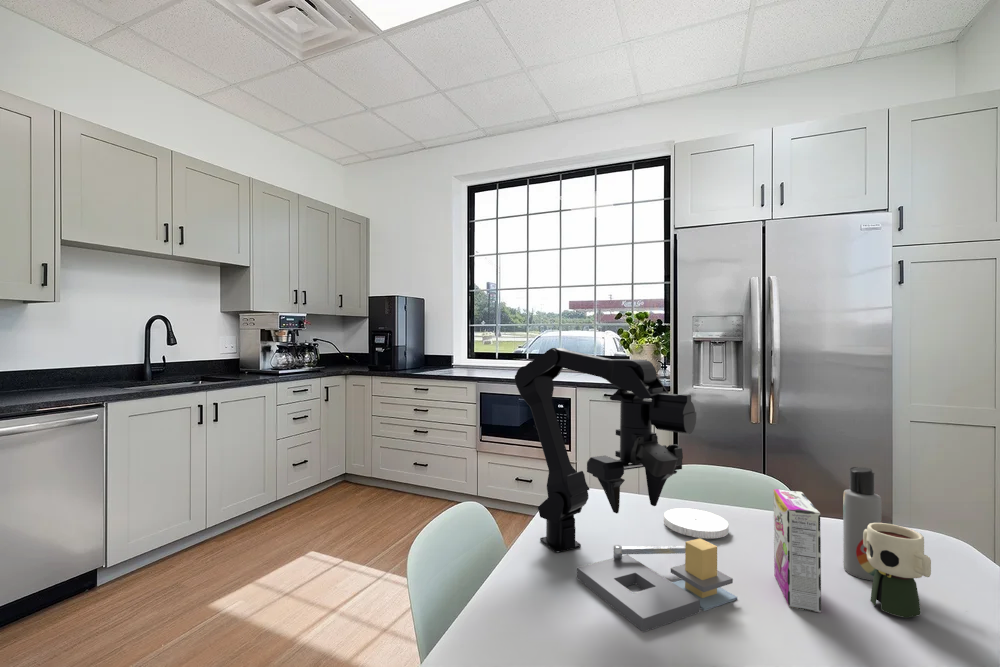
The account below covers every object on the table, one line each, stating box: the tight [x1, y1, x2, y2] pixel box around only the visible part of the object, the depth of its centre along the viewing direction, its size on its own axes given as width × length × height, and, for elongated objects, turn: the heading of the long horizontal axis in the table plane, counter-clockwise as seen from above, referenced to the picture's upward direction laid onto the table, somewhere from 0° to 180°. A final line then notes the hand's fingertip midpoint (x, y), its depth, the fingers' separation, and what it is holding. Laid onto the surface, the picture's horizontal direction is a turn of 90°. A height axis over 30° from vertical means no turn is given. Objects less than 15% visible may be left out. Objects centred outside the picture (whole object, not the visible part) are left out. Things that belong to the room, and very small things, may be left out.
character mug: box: [863, 522, 932, 619], centre depth 75 cm, size 11×7×13 cm, turn 7°
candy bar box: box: [773, 488, 822, 614], centre depth 79 cm, size 11×5×16 cm, turn 160°
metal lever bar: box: [613, 544, 685, 561], centre depth 87 cm, size 18×2×2 cm, turn 94°
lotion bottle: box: [842, 466, 882, 581], centre depth 87 cm, size 6×6×20 cm
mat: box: [671, 579, 738, 612], centre depth 79 cm, size 8×8×1 cm
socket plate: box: [576, 554, 701, 633], centre depth 78 cm, size 17×12×2 cm
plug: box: [670, 538, 734, 598], centre depth 79 cm, size 7×7×8 cm
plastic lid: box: [663, 507, 730, 539], centre depth 106 cm, size 14×14×2 cm
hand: (634, 509), depth 86 cm, fingers open, 9 cm apart
